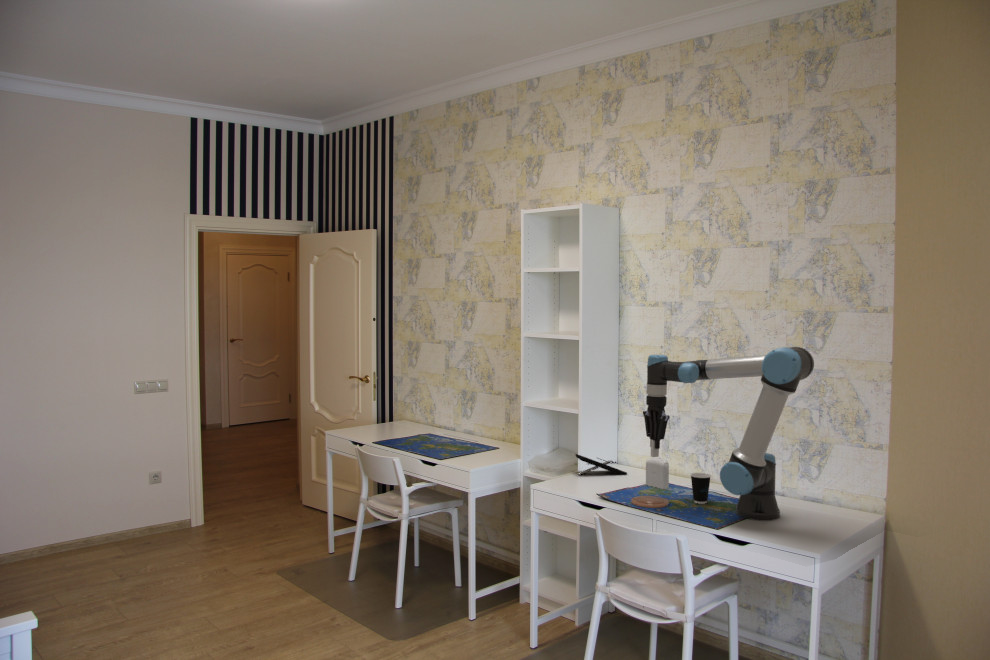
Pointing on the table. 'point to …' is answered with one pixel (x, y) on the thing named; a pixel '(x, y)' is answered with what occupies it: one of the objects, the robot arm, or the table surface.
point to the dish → (650, 501)
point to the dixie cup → (700, 487)
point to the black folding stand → (599, 465)
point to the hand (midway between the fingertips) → (654, 456)
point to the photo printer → (657, 473)
